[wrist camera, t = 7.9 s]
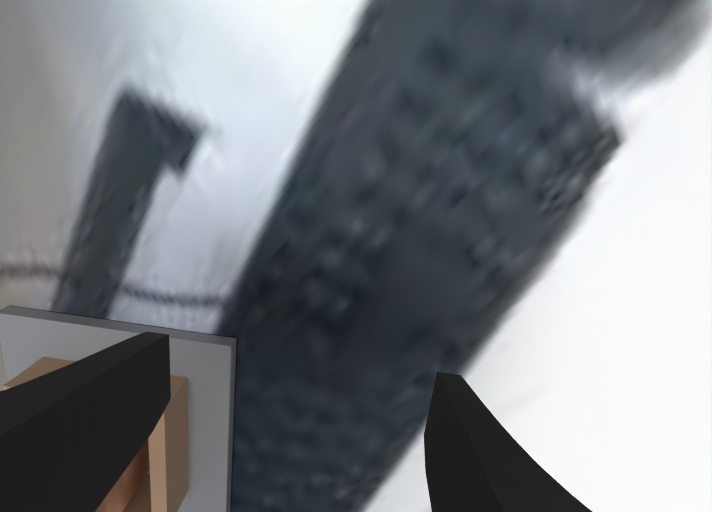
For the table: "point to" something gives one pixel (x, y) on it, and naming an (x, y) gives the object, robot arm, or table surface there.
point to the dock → (181, 417)
